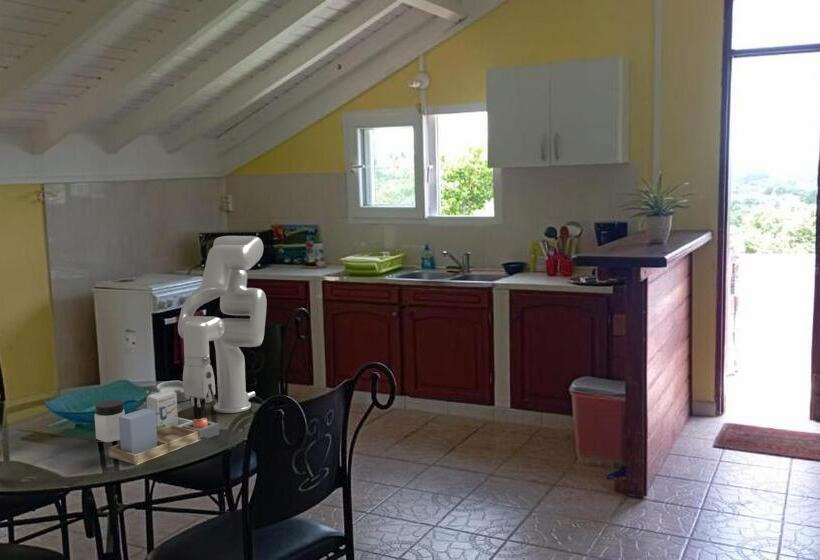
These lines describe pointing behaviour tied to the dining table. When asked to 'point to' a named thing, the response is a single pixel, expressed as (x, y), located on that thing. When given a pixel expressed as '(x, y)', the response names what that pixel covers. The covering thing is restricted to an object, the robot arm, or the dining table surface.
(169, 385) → the dish
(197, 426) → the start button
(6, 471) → the dining table surface
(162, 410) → the ink box
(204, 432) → the grey square frame
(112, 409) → the jar
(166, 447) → the wooden compartment tray
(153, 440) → the seated billet
